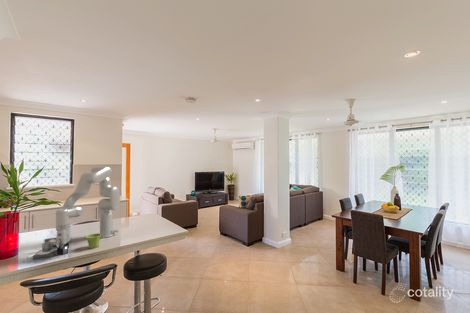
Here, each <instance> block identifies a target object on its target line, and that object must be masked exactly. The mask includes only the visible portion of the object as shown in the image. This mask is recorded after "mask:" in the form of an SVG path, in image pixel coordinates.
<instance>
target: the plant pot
mask: <svg viewBox="0 0 470 313" xmlns="http://www.w3.org/2000/svg"><path fill="white" fill-rule="evenodd" d="M100 236H101V234H100V232H97V233H92V234H91V233H90V234H88V235H87V236H86V237H85V239H86V240H87V243H88V249H92V250H93V249H97V248H98V247H100V242H101V241H100V239H101V238H100Z"/></svg>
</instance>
